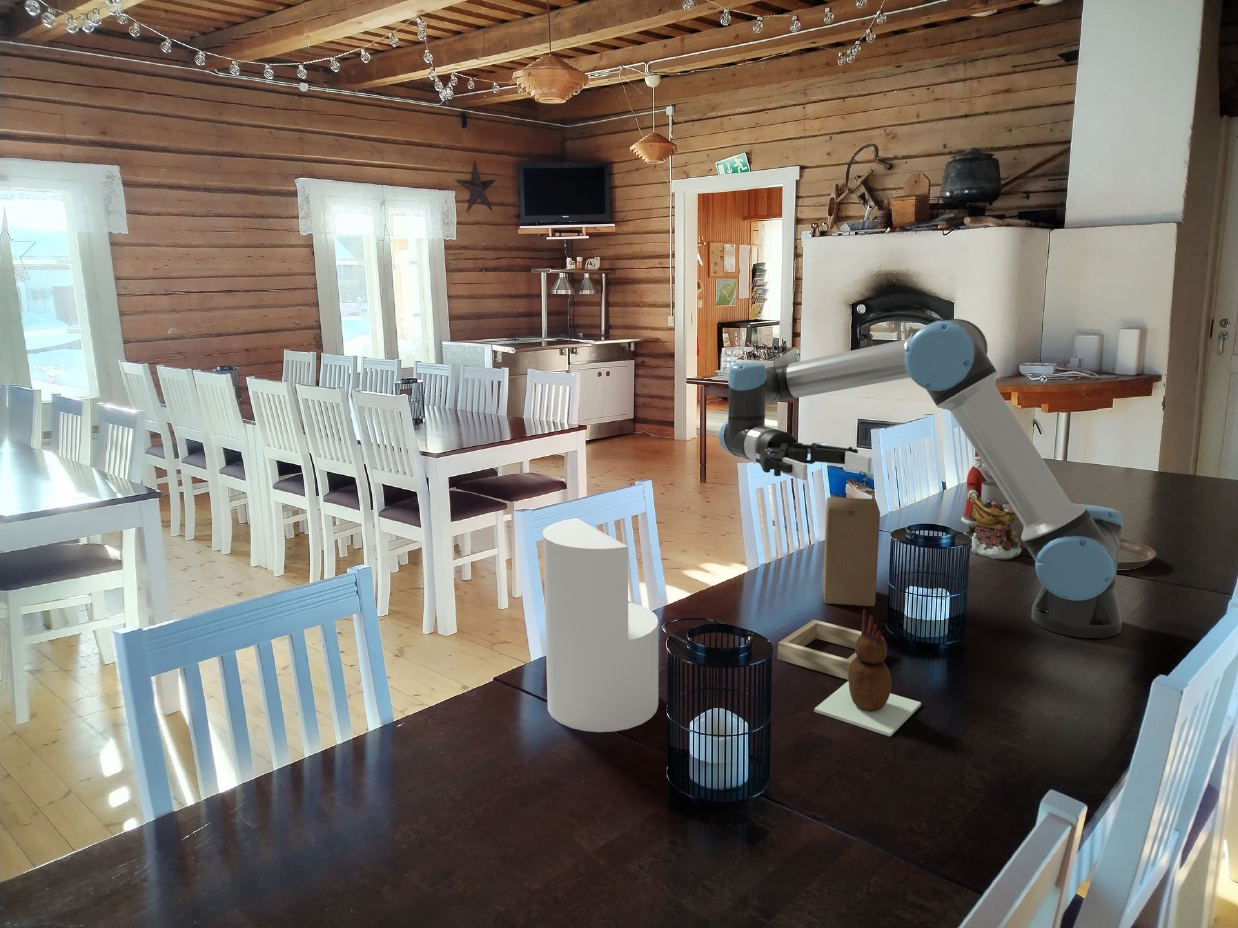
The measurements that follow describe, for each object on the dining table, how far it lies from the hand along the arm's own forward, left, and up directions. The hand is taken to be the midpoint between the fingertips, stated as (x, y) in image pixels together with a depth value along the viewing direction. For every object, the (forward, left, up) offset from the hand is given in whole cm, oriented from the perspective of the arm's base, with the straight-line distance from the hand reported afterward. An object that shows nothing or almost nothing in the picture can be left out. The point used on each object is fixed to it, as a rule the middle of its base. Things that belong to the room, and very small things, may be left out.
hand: (838, 468), depth 153 cm
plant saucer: (-29, -82, -32) cm, 93 cm away
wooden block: (+7, -23, -32) cm, 40 cm away
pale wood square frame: (-3, +6, -32) cm, 33 cm away
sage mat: (-16, +20, -32) cm, 41 cm away
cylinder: (+17, +44, -32) cm, 57 cm away
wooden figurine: (-16, +20, -32) cm, 41 cm away
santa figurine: (-6, -74, -32) cm, 81 cm away
